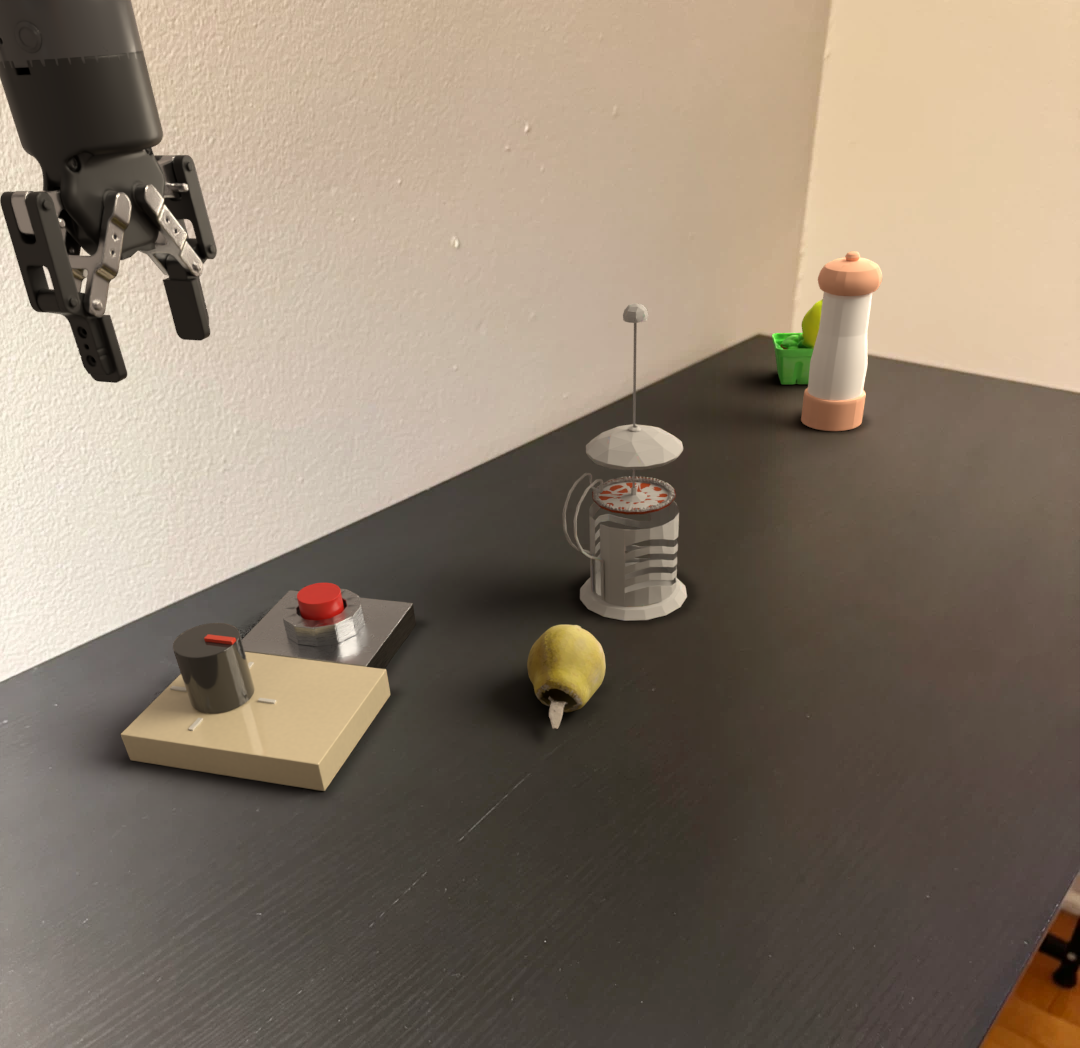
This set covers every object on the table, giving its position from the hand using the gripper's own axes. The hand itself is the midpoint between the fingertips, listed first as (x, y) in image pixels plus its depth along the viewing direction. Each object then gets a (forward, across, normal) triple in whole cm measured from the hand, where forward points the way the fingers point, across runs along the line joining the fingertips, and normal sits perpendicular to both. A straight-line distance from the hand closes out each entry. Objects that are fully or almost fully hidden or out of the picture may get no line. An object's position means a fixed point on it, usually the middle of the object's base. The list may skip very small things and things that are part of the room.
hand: (154, 358), depth 62 cm
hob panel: (+27, +2, +3) cm, 27 cm away
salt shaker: (+27, -72, +37) cm, 85 cm away
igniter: (+27, -9, +2) cm, 29 cm away
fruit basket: (+27, -87, +33) cm, 97 cm away
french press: (+27, -24, +24) cm, 44 cm away
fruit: (+27, -7, +24) cm, 37 cm away
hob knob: (+24, +3, 0) cm, 25 cm away
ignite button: (+23, -9, +2) cm, 25 cm away
